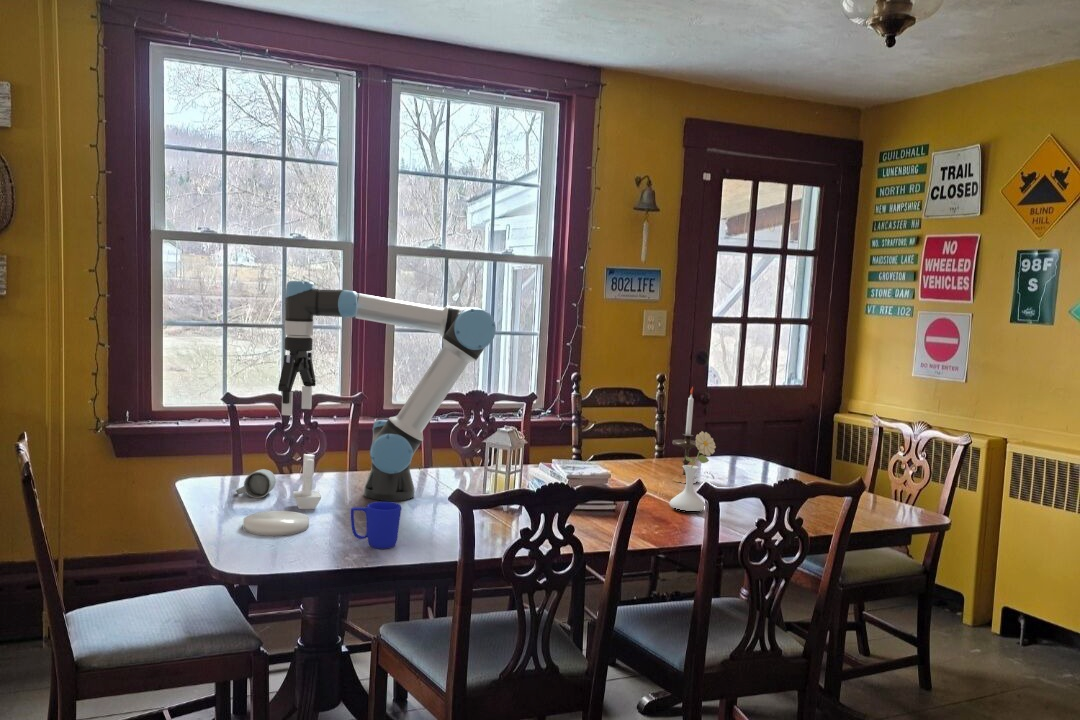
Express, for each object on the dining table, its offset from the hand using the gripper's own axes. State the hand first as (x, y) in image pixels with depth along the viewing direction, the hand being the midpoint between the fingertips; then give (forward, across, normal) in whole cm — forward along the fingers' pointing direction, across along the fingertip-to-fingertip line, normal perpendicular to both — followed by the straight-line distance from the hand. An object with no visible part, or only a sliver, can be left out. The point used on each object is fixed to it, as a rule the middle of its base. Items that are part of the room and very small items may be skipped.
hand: (296, 412), depth 234 cm
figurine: (+27, +1, +4) cm, 27 cm away
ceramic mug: (+26, -6, -15) cm, 31 cm away
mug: (+27, +30, +33) cm, 52 cm away
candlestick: (+29, -80, +114) cm, 143 cm away
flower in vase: (+29, -36, +113) cm, 122 cm away
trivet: (+26, +22, +5) cm, 35 cm away
